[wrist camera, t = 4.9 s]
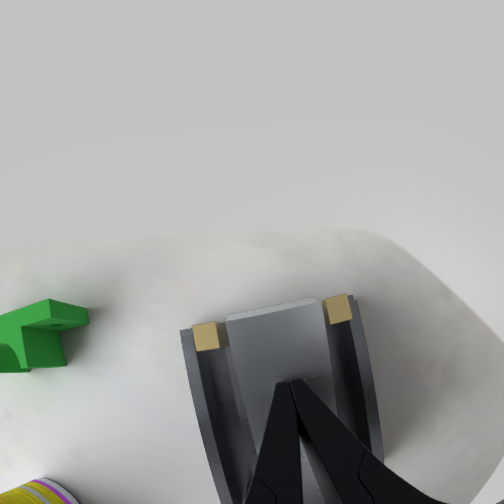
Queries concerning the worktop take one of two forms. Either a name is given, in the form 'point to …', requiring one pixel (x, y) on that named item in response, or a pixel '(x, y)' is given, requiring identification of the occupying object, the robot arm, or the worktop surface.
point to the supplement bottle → (38, 494)
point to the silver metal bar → (281, 364)
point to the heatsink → (232, 405)
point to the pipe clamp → (37, 335)
